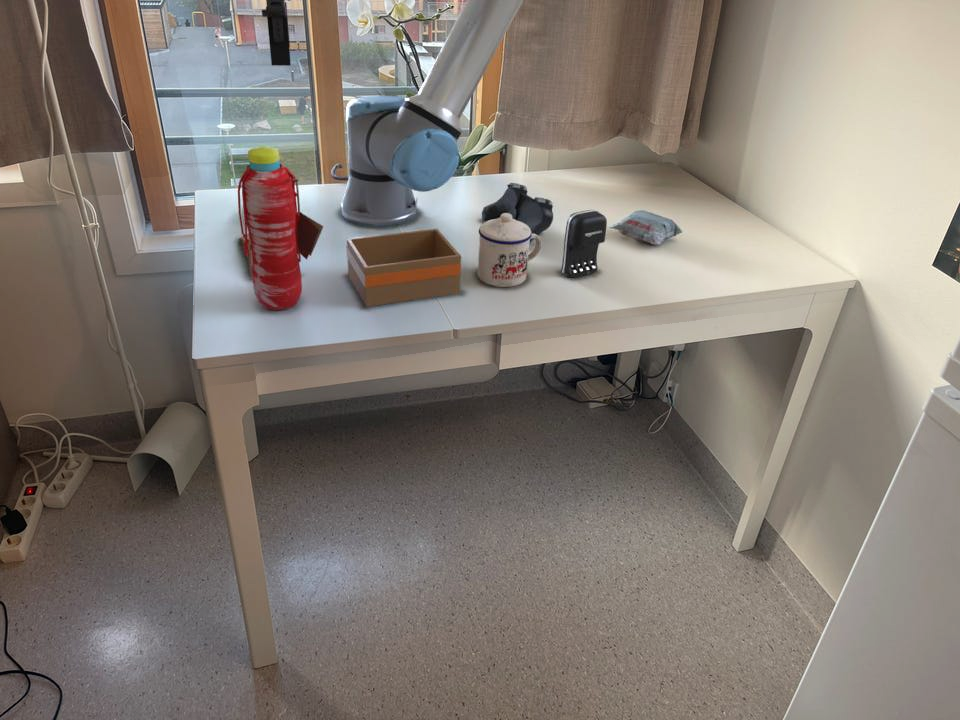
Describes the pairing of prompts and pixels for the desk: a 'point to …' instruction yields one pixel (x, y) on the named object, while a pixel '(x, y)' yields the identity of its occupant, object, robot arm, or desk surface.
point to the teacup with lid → (505, 251)
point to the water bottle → (274, 229)
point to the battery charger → (583, 242)
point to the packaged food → (647, 227)
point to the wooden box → (403, 267)
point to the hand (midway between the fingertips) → (281, 55)
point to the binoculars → (522, 209)
